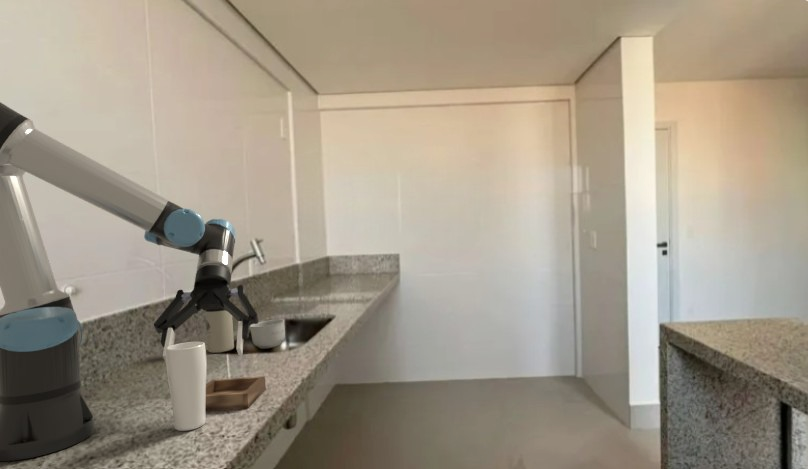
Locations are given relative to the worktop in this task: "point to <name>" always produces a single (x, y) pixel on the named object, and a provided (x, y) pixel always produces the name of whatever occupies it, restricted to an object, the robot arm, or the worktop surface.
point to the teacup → (268, 333)
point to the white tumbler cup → (187, 384)
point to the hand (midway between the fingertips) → (203, 355)
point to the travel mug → (219, 330)
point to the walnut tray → (233, 393)
